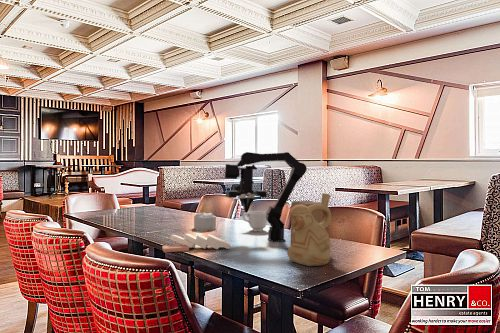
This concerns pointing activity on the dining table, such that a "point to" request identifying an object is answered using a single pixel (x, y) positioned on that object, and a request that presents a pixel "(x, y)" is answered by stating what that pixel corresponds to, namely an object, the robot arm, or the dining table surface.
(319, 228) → the ceramic vessel
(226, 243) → the domino
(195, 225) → the lumpy-topped squat cylinder
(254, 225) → the teacup
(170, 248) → the domino
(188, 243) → the domino
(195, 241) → the domino
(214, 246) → the beige jagged slab
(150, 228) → the dining table surface
